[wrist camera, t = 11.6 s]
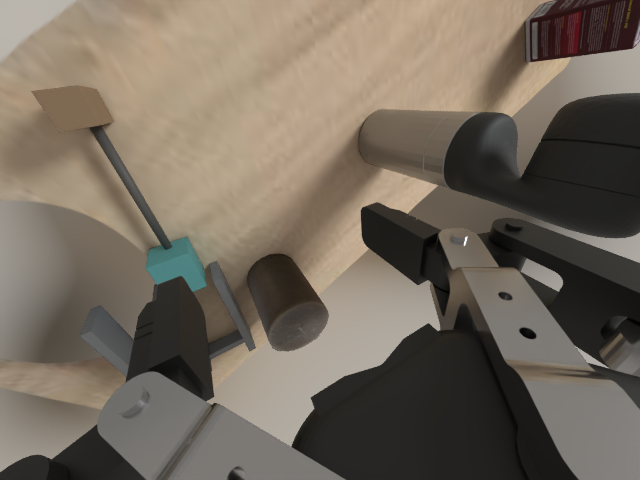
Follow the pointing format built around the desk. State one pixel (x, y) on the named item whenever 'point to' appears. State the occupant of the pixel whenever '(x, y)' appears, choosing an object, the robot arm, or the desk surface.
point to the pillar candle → (286, 303)
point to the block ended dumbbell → (90, 111)
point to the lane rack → (119, 343)
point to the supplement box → (581, 28)
